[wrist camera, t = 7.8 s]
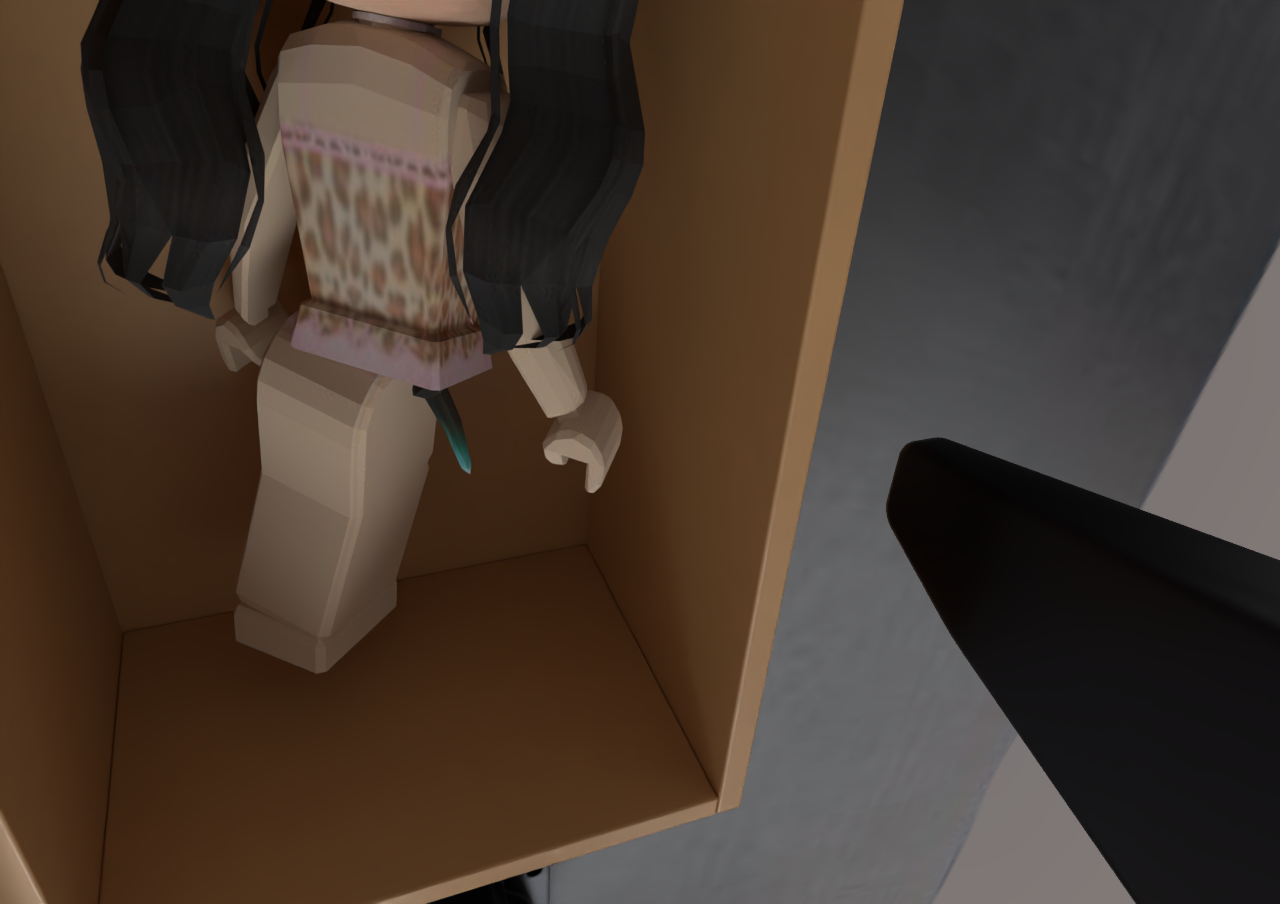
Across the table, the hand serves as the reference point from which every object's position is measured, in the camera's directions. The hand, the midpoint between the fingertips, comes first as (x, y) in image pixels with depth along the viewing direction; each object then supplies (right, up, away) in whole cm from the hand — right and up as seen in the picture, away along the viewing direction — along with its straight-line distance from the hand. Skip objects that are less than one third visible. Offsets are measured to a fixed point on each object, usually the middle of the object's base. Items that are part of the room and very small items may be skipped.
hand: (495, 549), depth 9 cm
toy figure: (-2, +5, +7) cm, 8 cm away
